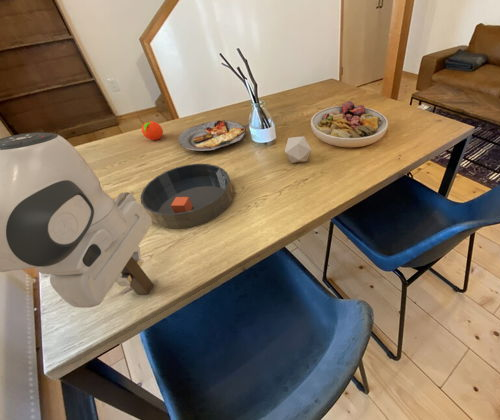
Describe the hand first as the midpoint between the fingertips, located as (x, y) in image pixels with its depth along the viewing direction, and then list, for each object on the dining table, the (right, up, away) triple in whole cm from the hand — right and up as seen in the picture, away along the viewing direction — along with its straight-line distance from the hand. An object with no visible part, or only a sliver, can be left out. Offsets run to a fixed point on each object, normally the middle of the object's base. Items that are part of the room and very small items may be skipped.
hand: (132, 274), depth 55 cm
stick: (0, -4, +4) cm, 6 cm away
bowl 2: (+48, +44, +56) cm, 86 cm away
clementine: (-28, +40, +53) cm, 72 cm away
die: (+29, +30, +41) cm, 59 cm away
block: (0, +13, +21) cm, 24 cm away
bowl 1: (0, +16, +25) cm, 30 cm away
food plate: (-5, +40, +53) cm, 67 cm away
